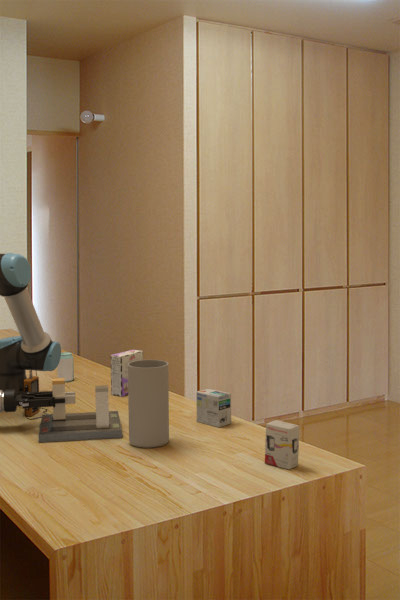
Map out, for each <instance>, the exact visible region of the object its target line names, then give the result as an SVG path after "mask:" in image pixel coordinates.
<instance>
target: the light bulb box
mask: <svg viewBox="0 0 400 600" xmlns="http://www.w3.org/2000/svg"><path fill="white" fill-rule="evenodd" d="M195 396H196V422H197V423H201V424H205V425H209V426H212V427H216V428H221V427H224V426H227V425H230V424H232V392H225V391H221V390H216V389H212V388H206V389H201V390H197V391H196V395H195Z"/></svg>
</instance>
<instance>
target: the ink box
mask: <svg viewBox="0 0 400 600" xmlns="http://www.w3.org/2000/svg"><path fill="white" fill-rule="evenodd" d="M300 427H301V426H300V425H297V424H294V423H290V422H286V421H281V420H279V419H275V420H272V421H270V422H268V423H266V424H265V440H264V441H265V445H264V464H268V465H271V466H275V467H279V468H282V469H286V470H291V469H293V468H296V467H298V466H299V453H300V452H299V449H300V448H299V447H300Z"/></svg>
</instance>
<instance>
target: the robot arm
mask: <svg viewBox="0 0 400 600" xmlns="http://www.w3.org/2000/svg"><path fill="white" fill-rule="evenodd" d="M31 271H32V268H31V265H30V263H29V261H28V259H27V258H26V257H25V256H24V255H23V254H20V253H13V252H6V253H0V297H3V298H4V301H5V302H6V305H7V307H8V309H9V311H10V315H11V316H12V318H13V319H12V320H13V321H14V324H15V326H16V328H17V331H18V333H19V335H14V336H8V337H3V338H0V414H1V413H2V414H3V412H5V413H15V412H16V411H17V409H18V407H21V409H23V410H24V409H25V408H36V407H40V408H53V407H55V404H56V405H58V404H65V405H73V404H76V391H67V392H66V391H65V396H55V397H53V391H52V390H51V391H50V390H49V391H47V390H46V391H39V392H25V393H24V392H23V379H24V380H25V379H27V378H28V377H27V374H26V373H27V371H31V365H32V371H34V372H54V371H55V370H56V369H57V366H58V364H59V362H60V358H61V353H62V346H61V344H60V342H58V341H55V340H54V341H53V340H52V338H51V335H50V334H49V333H48V332H46V331H44V329H43V325H42V324H41V321H40V319H39V315H38V313H37V311H36V308H35V306H34V303H33V301H32V299H31V296H30V293H29V291H28V287H29V284H30V281H31V278H32V273H31ZM31 358H34V359H35V360H36V362H35V360H34V359H31ZM30 359H31V363H30ZM25 361H28V362H29V363H30V365H29V363H28V362H25ZM24 362H25V363H24ZM23 364H24V368H23Z"/></svg>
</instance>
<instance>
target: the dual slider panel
mask: <svg viewBox="0 0 400 600" xmlns="http://www.w3.org/2000/svg"><path fill="white" fill-rule="evenodd" d="M109 404H110V403H109V385H108V384H107V385H106V384H102V385H95V411H91V412H89V411H87V412H69V413H68V412H67V413H66V419H58V420H53V413H51V414H50V413H48V414H47V415H46V414H42V415H41V416H42V418H41V421H40V425H39V431H38V443H39V444H40V443H53V442H54V443H55V442H57V443H58V442H71V441H73V442H74V441H88V440H103V439H104V440H107V439H110V440H111V439H122V438H123V427H122V425H121V417H120V415H119V411H118V410H111V411H110V407H109Z"/></svg>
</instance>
